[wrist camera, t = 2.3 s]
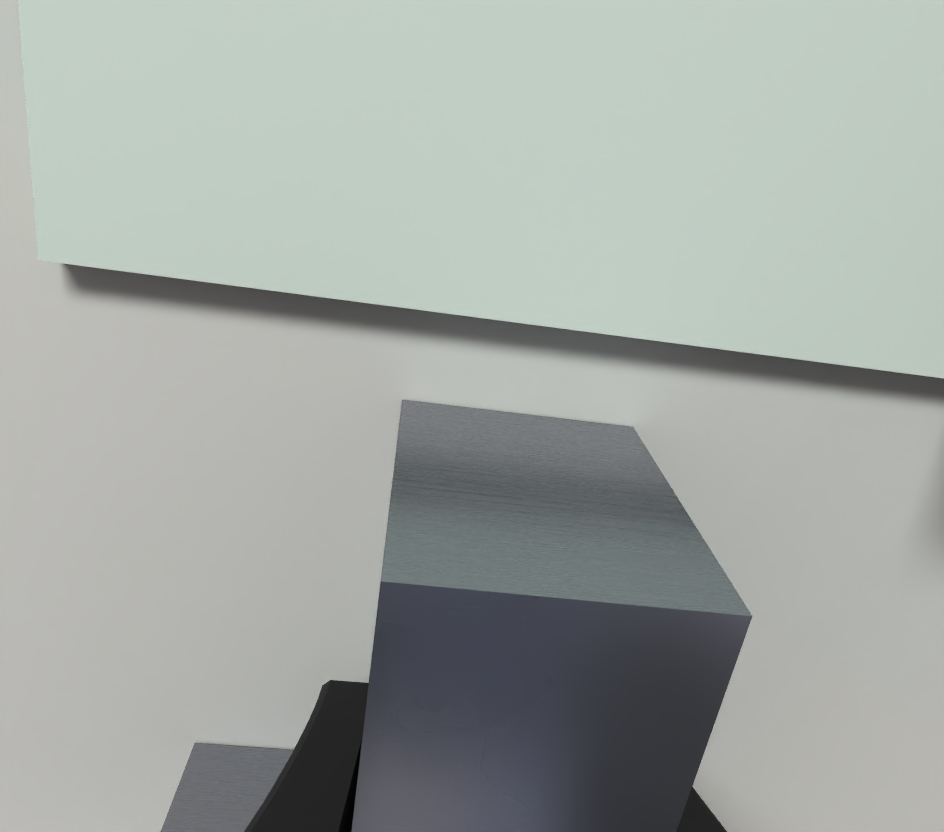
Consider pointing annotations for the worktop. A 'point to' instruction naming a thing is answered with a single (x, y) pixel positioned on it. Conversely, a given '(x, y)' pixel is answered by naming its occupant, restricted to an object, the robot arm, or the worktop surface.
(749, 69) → the arena mat
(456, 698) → the angle bracket
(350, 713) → the robot arm
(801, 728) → the worktop surface
